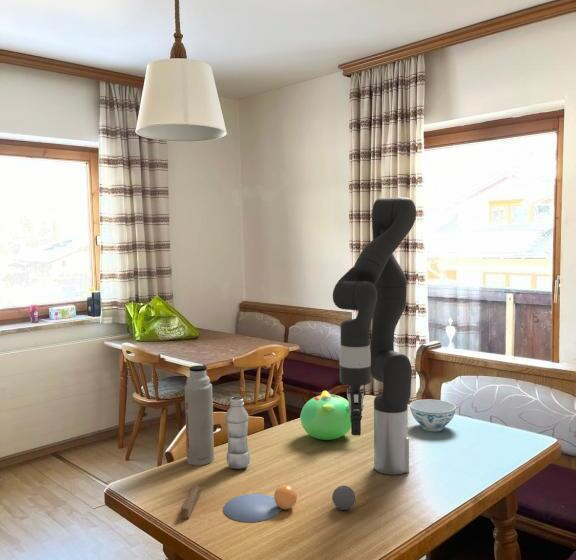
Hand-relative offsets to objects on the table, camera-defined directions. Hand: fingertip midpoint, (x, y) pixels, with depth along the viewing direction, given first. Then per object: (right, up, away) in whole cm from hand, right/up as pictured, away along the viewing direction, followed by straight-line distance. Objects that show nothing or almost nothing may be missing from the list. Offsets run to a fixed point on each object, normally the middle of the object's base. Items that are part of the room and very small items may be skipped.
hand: (355, 428), depth 138 cm
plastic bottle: (-31, -17, +23) cm, 42 cm away
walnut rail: (-40, -19, 0) cm, 44 cm away
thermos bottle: (-42, -17, +29) cm, 54 cm away
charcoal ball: (-3, -16, -3) cm, 16 cm away
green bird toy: (-3, -15, +46) cm, 48 cm away
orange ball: (-17, -16, -2) cm, 23 cm away
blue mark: (-25, -19, -1) cm, 31 cm away
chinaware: (+32, -14, +53) cm, 64 cm away
